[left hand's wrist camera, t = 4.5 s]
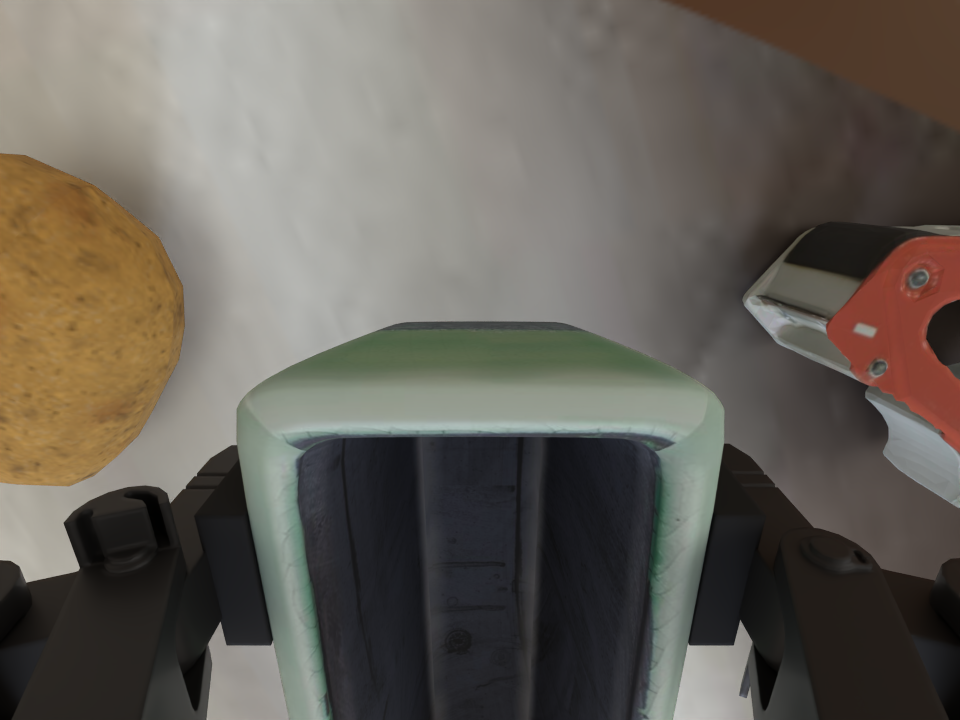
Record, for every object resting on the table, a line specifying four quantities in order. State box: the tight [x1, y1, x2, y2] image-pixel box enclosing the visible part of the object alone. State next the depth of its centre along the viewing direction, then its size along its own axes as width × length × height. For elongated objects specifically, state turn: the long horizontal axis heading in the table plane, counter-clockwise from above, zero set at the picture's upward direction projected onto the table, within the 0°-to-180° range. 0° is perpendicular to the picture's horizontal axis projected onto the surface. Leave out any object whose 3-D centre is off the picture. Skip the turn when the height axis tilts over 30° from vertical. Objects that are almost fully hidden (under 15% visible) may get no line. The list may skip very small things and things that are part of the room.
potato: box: [0, 154, 185, 486], centre depth 19 cm, size 9×13×7 cm
